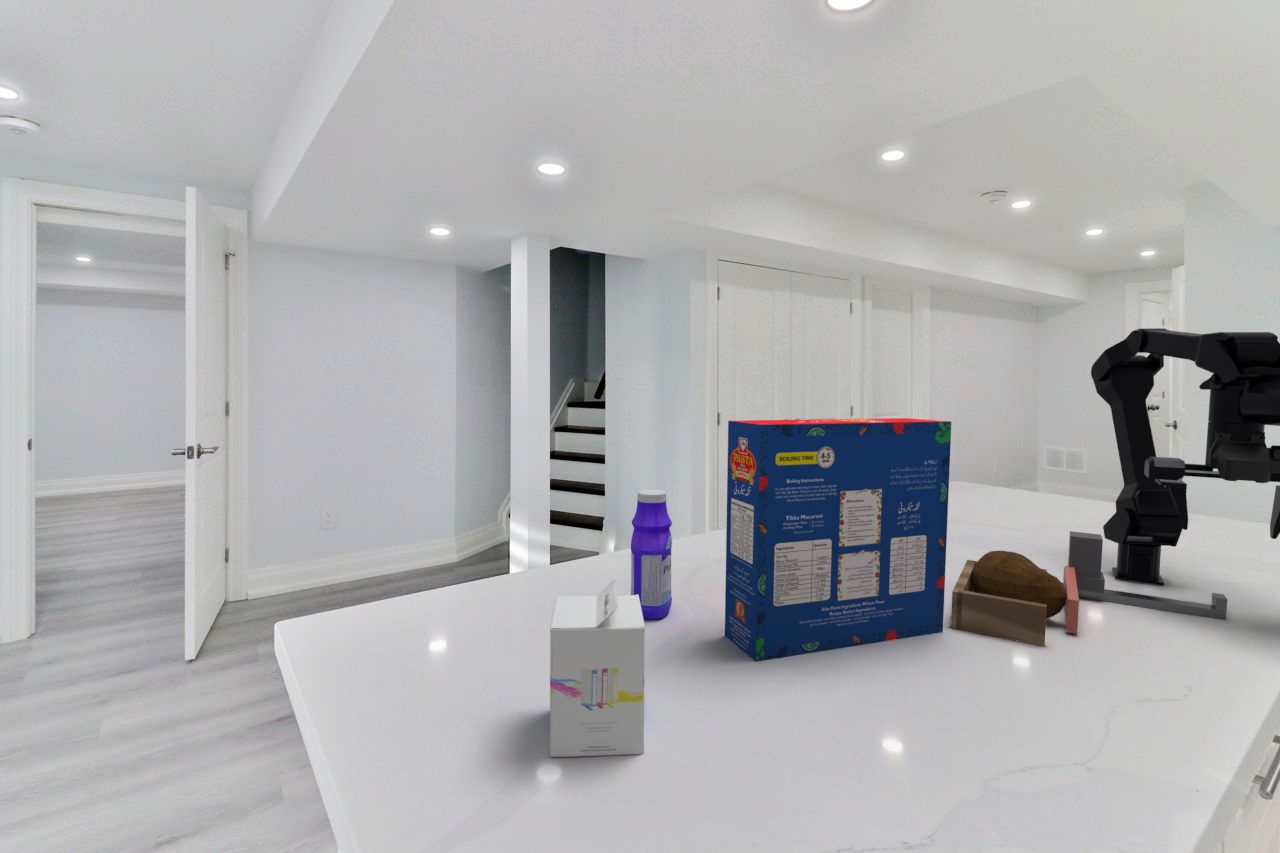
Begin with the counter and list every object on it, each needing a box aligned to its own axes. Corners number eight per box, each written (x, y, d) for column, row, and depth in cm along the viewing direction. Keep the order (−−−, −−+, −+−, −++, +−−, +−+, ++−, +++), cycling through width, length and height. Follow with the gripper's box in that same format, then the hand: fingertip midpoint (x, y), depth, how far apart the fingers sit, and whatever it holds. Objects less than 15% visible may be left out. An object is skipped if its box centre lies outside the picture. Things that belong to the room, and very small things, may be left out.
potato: (1017, 631, 83) (1021, 566, 83) (954, 601, 95) (957, 544, 94) (1070, 626, 85) (1074, 563, 84) (1002, 597, 97) (1005, 541, 96)
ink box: (554, 708, 63) (553, 577, 62) (637, 705, 63) (638, 575, 62) (548, 760, 54) (548, 608, 53) (645, 755, 55) (646, 606, 54)
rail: (1037, 586, 102) (1037, 568, 102) (1221, 614, 90) (1223, 594, 89) (1036, 590, 100) (1037, 571, 100) (1225, 620, 88) (1227, 599, 87)
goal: (966, 590, 99) (967, 559, 99) (1045, 603, 94) (1047, 571, 93) (950, 627, 84) (952, 591, 84) (1044, 646, 78) (1046, 607, 78)
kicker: (1062, 586, 101) (1066, 530, 100) (1101, 592, 98) (1104, 534, 98) (1065, 631, 82) (1069, 563, 82) (1113, 640, 79) (1117, 569, 79)
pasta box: (899, 611, 90) (906, 418, 88) (942, 632, 83) (951, 421, 81) (724, 636, 81) (728, 420, 79) (755, 662, 73) (760, 424, 72)
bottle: (666, 623, 85) (668, 496, 84) (626, 620, 86) (626, 494, 85) (674, 605, 92) (675, 487, 91) (636, 602, 93) (637, 486, 92)
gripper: (1157, 423, 85) (1150, 536, 86) (1358, 429, 75) (1347, 557, 76) (1146, 419, 94) (1140, 521, 96) (1323, 424, 84) (1314, 538, 85)
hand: (1227, 533), depth 88 cm, fingers open, 9 cm apart
